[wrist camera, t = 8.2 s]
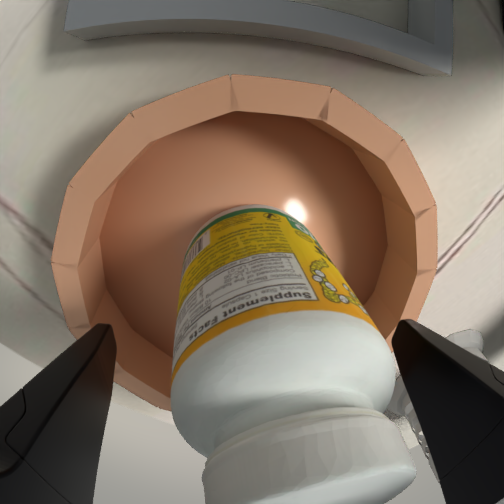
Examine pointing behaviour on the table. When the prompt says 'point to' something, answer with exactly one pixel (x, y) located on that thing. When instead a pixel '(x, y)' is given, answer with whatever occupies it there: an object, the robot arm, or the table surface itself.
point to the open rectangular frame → (280, 26)
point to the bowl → (233, 195)
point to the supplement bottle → (281, 370)
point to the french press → (400, 397)
